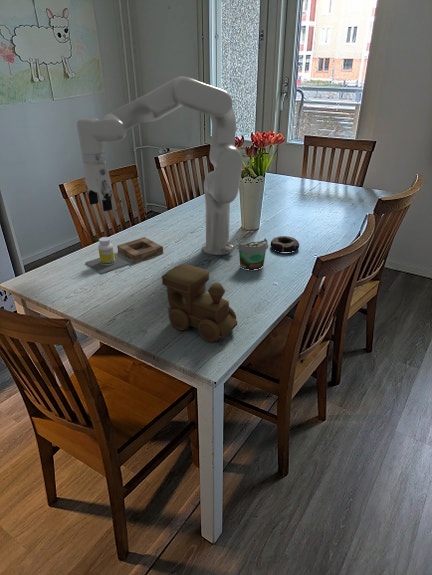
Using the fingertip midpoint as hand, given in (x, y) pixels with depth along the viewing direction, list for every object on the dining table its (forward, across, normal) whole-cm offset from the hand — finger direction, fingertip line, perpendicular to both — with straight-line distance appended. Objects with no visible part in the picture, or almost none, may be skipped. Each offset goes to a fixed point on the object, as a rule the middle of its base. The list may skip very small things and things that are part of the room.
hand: (100, 206), depth 147 cm
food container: (+23, -40, -38) cm, 60 cm away
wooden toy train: (+23, -56, +1) cm, 60 cm away
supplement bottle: (+22, 0, +1) cm, 22 cm away
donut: (+23, -36, -60) cm, 74 cm away
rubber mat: (+22, 0, +1) cm, 22 cm away
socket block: (+22, 0, -14) cm, 27 cm away
